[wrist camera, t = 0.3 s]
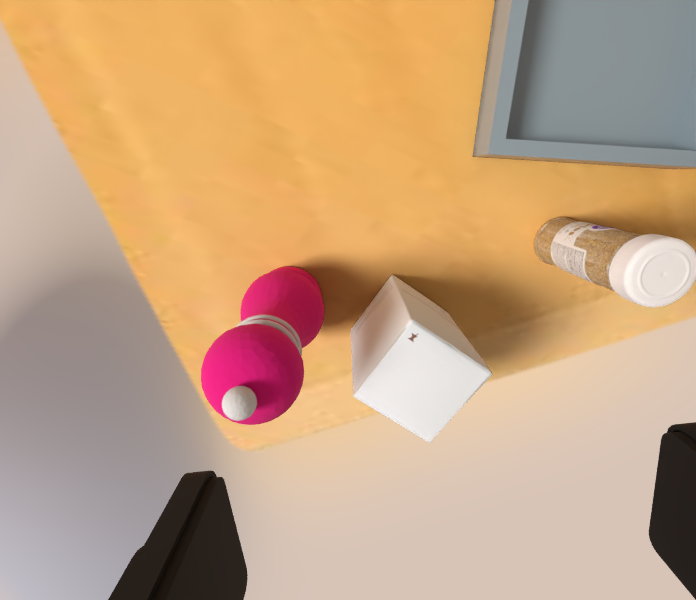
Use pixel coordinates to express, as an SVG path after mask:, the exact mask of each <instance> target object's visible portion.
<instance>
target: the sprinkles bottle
mask: <svg viewBox="0 0 696 600" xmlns="http://www.w3.org/2000/svg"><path fill="white" fill-rule="evenodd" d="M534 248H535V252H536V255H537V256H538V257H539V259H540V260H542V261H543V262H545V263H547V264H551V265H555V266H558V267H559V268H560V269H562V270H564V271H567V272H569V273H571V274H573V275H576V276H578V277H580V278H582V279H585V280H587V281H589V282H592V283H594V284H596V285H599V286H603V287H605V288H608V289H610V290H612V291H615V292H616V293H617V294H618V295H619V296H621V297H623V298H624V299H627V300H629V301H631V302H634V303H636V304H639V305H641V306H645V307H661V306H665V305H668V304H671V303H673V302H675V301H676V300H678V299H680V298H681V297H682V296H683V295H685V294H686V293H687V292H688V290H689V289H690V288H691V287H692V285H693V283H694V281H695V280H696V252H695V250H694V249H693V248H692V247H691V246H690V245H689V244H688V243H686V242H685V241H683V240H681V239H678V238H674V237H669V236H664V235H659V234H646V235H642V234H637V233H632V232H627V231H623V230H620V229H616V228H611V227H606V226H601V225H597V224H592V223H587V222H580V221H575V220H573V219H570V218H567V217H557V218H554V219H551V220H549V221H548V222H546V223H545V224H543V225H542V226H541V228H540V229H539V230H538V232H537V234H536V237H535V240H534Z"/></svg>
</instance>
